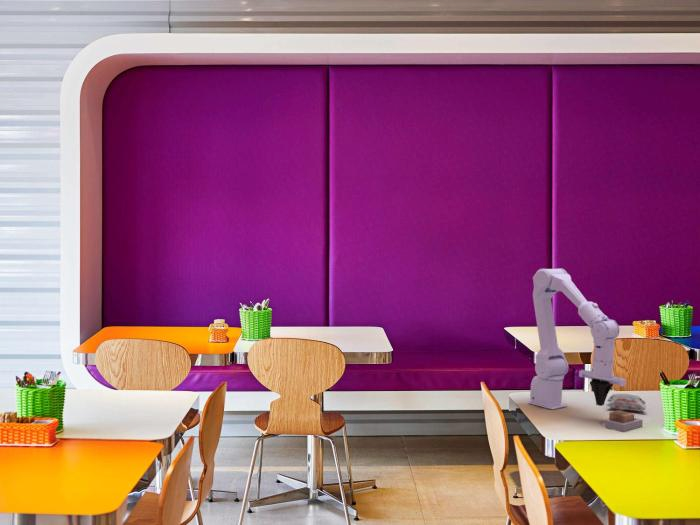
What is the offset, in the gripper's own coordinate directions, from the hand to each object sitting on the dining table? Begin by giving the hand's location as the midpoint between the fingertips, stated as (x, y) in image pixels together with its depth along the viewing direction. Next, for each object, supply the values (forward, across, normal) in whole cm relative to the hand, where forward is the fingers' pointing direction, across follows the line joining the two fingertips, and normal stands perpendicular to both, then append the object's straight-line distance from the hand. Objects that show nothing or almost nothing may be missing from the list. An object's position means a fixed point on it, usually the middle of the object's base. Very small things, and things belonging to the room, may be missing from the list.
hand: (600, 404), depth 230 cm
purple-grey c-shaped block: (+5, -8, 0) cm, 9 cm away
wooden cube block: (+5, -7, 0) cm, 9 cm away
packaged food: (+5, +2, -19) cm, 20 cm away
